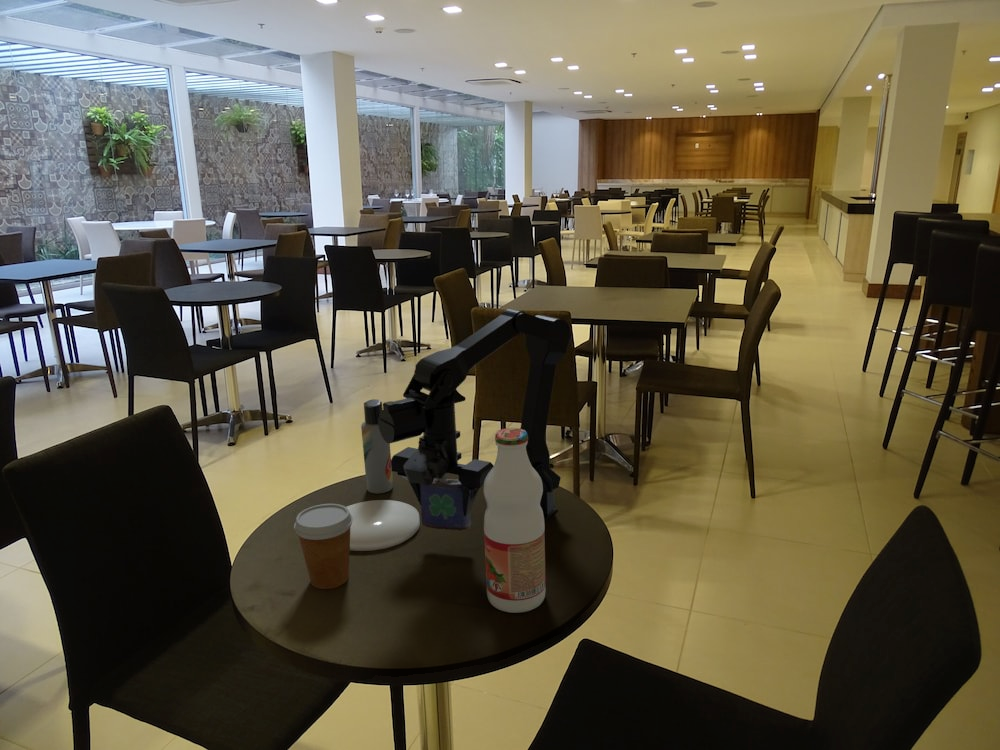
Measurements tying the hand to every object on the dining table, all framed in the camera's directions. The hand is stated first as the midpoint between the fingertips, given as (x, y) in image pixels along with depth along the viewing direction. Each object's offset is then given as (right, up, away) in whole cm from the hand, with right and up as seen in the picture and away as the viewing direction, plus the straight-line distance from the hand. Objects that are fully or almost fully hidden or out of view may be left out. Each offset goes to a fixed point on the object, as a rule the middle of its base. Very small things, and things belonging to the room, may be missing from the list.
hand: (444, 510), depth 129 cm
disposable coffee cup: (-19, -10, -7) cm, 23 cm away
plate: (-15, -5, +10) cm, 18 cm away
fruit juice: (+13, -11, -14) cm, 22 cm away
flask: (0, -3, +1) cm, 3 cm away
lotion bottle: (-16, -1, +27) cm, 32 cm away
